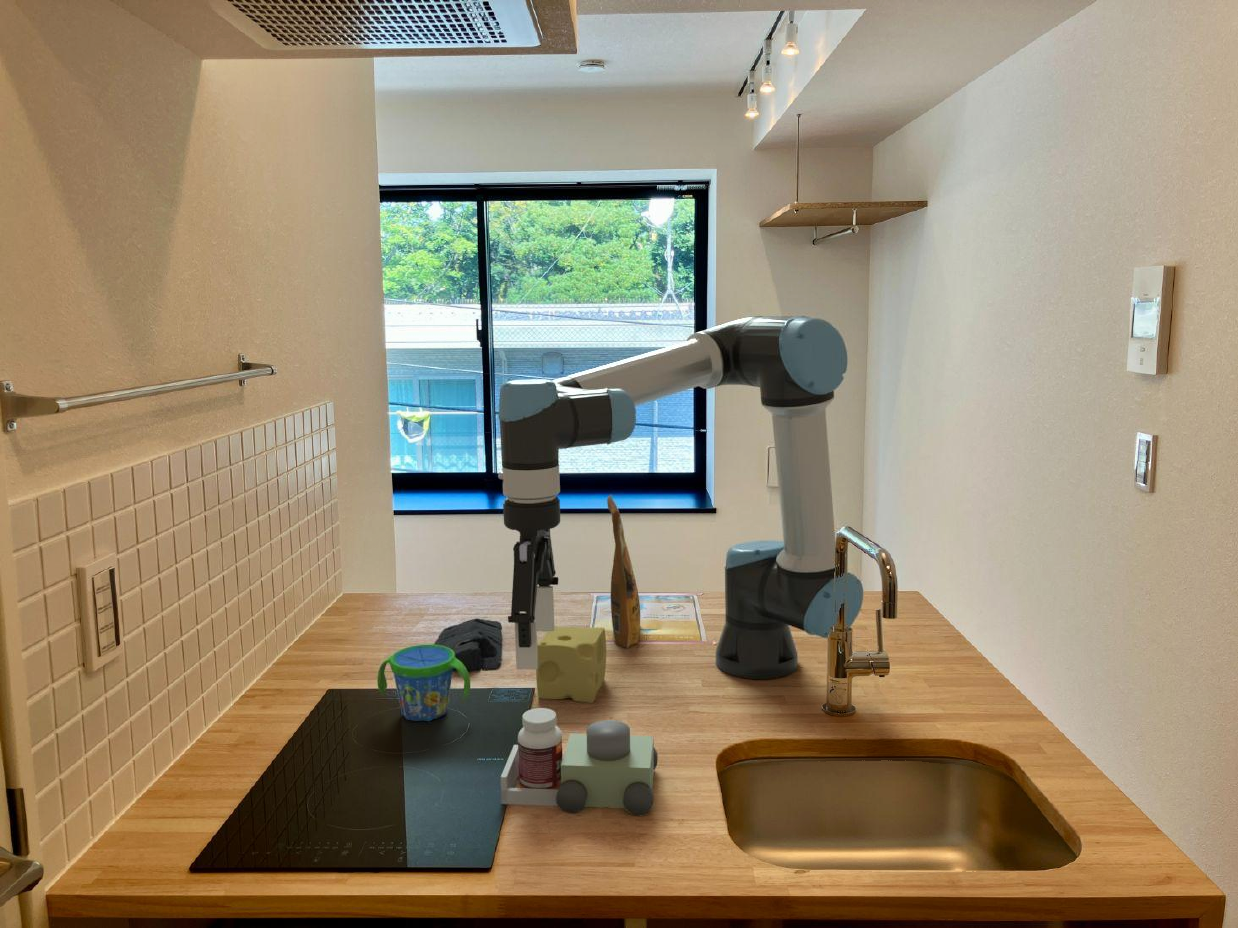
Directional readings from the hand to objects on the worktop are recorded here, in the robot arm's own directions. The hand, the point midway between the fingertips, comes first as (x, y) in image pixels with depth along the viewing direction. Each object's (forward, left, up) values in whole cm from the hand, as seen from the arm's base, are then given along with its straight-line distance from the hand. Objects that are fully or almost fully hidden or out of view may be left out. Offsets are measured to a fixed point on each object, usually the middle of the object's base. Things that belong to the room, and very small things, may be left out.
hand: (536, 648), depth 125 cm
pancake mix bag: (-7, -60, -21) cm, 64 cm away
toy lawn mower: (-6, 0, -21) cm, 21 cm away
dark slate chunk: (+23, -50, -21) cm, 59 cm away
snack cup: (+23, -22, -21) cm, 38 cm away
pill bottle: (0, 0, -21) cm, 21 cm away
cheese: (0, -33, -21) cm, 39 cm away
